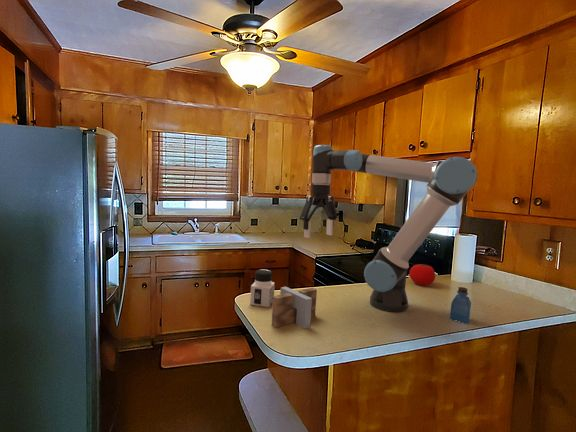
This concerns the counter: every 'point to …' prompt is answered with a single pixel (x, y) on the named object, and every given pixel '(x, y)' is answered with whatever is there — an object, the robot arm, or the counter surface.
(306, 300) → the arch block
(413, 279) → the tomato
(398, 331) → the counter surface
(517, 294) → the counter surface
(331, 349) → the counter surface
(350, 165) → the robot arm
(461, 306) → the perfume bottle
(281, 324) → the board
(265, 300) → the container
